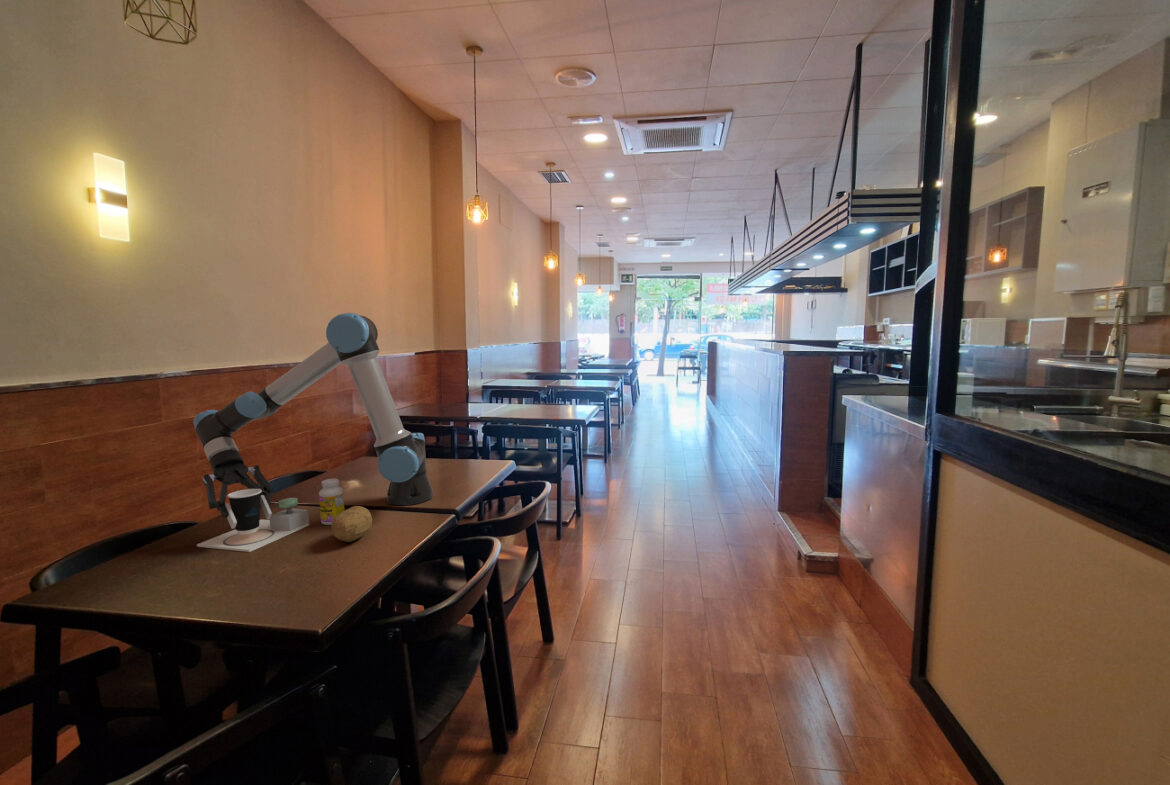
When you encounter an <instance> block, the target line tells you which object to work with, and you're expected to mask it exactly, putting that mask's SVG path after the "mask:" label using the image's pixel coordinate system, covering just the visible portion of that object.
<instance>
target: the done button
mask: <svg viewBox="0 0 1170 785" xmlns="http://www.w3.org/2000/svg"><path fill="white" fill-rule="evenodd" d="M295 506H298V497H287V498H283V499H280V500H278V508H280V509H285V510H286V514H291V513H292V509H293V508H294V507H295Z"/></svg>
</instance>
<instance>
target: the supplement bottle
mask: <svg viewBox="0 0 1170 785" xmlns="http://www.w3.org/2000/svg"><path fill="white" fill-rule="evenodd" d="M339 484H340V480H339V479H338V478H328V479H324V480H322V481H321V487H322V489H320V490H319V492H318V500H319V502H318V503H319V514H320V522H321V524H322V525H325V526H332V522H333V520H334V518H335V517H336V516H337V515H338V514H340V513H342V512H344V511H346V510H345V499H344V498H345V497H344V490H343V488H342V487H341V486H339Z"/></svg>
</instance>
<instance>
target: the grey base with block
mask: <svg viewBox="0 0 1170 785" xmlns="http://www.w3.org/2000/svg"><path fill="white" fill-rule="evenodd" d="M308 526H309V527H310V517H309V509H305V508H304V509H302V508H292V513H291V514H286V509H284V510H281V511H278V512H276V513H274V514H273V513H272V515H271V517H270V519H262V518H260V522H259V527H258V530H257V531H256V532H253V533H249V534H238V531H237V530H236V528H234V529H232V530H230V531H228V532H226V533H222V534H219V535H217V536H214V537H212V538H209V539H207V540H204V541H202V542H200V543H197V544H196V547H198V548H207V549H217V550H227V551H237V552H246V553H250V552H253V551H256V550H257V549H259V548H260V549H261V548H262V547H264V546H267V545H269V544H270V543H273V542H276V541H277V540H280V539H282V538H284V537H286V536H288V535H291V534H293V533H295V532H297V531H301V530H302V529H304V528H307V527H308Z"/></svg>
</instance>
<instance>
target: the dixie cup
mask: <svg viewBox="0 0 1170 785" xmlns="http://www.w3.org/2000/svg"><path fill="white" fill-rule="evenodd" d="M261 492H262V490H261V489H248V488H246V489H240V490H236V491H233V492H231V493H230V492H229V493H227V494H226V497H227V498H228V500H229V504H230V507H231V509H232V512H233V514H234V516H235V519H236V521H237V524H236V526H235V529H236V530H237V531H238V534H249V533H253V532H256V531H257V530H258V527H259V522H260V520H261V514H260V513H261V506H260V497H261Z"/></svg>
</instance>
